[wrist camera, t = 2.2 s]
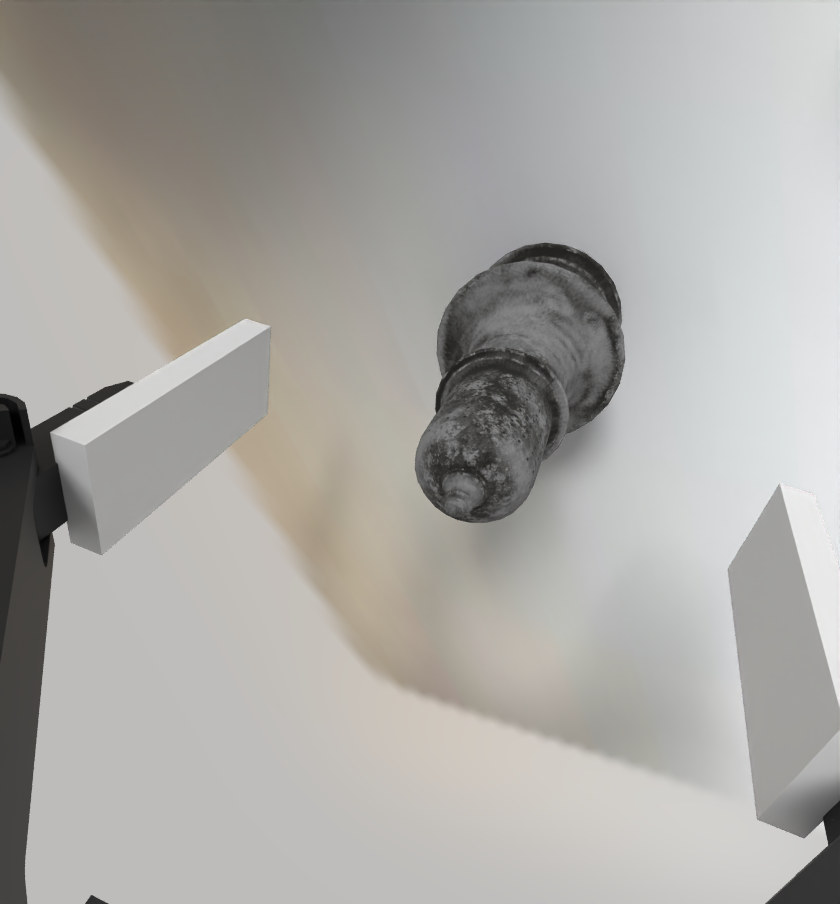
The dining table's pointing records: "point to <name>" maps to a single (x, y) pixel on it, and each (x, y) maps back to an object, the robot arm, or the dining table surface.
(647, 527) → the dining table surface
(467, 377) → the dark grey tall piece
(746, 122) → the dining table surface
